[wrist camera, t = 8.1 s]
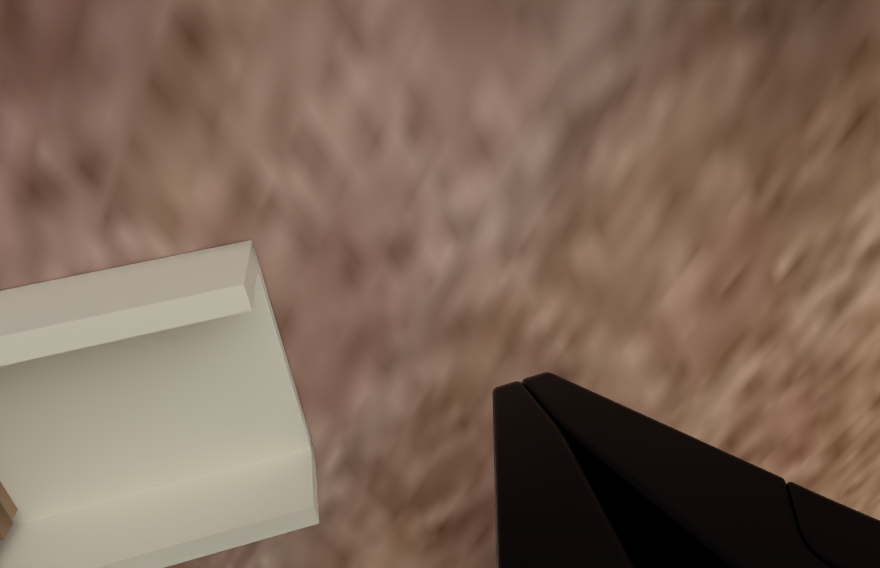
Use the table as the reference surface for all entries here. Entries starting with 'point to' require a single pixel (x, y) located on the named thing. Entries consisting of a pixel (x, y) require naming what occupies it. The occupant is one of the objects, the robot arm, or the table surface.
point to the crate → (6, 512)
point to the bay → (149, 415)
